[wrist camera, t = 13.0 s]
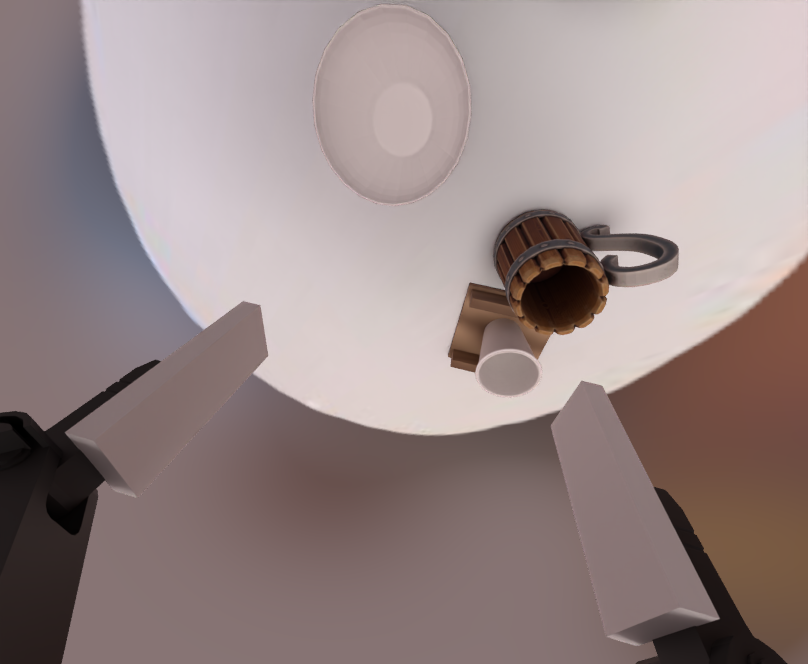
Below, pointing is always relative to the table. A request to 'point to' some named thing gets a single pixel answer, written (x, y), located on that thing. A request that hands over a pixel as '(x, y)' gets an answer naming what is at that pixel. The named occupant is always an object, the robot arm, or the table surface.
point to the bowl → (392, 104)
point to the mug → (570, 269)
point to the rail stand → (473, 320)
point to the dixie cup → (507, 361)
